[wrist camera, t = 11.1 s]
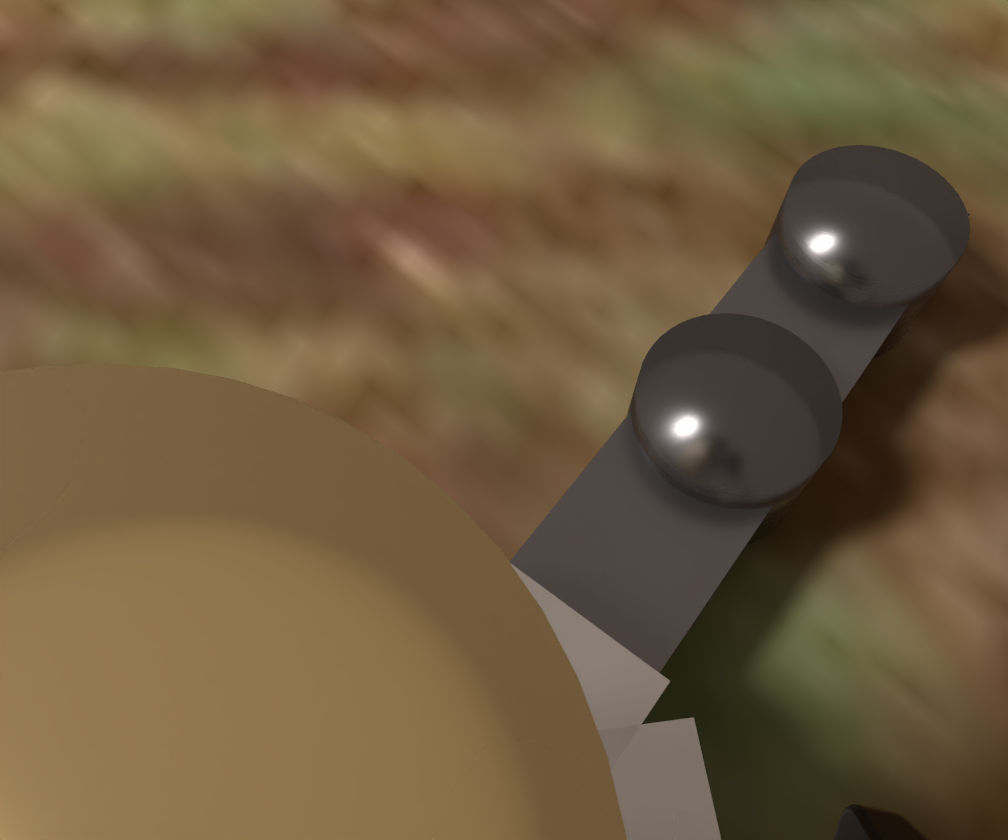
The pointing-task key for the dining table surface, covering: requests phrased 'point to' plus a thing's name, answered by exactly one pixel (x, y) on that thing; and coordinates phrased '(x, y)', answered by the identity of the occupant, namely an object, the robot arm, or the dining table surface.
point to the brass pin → (263, 631)
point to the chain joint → (729, 452)
